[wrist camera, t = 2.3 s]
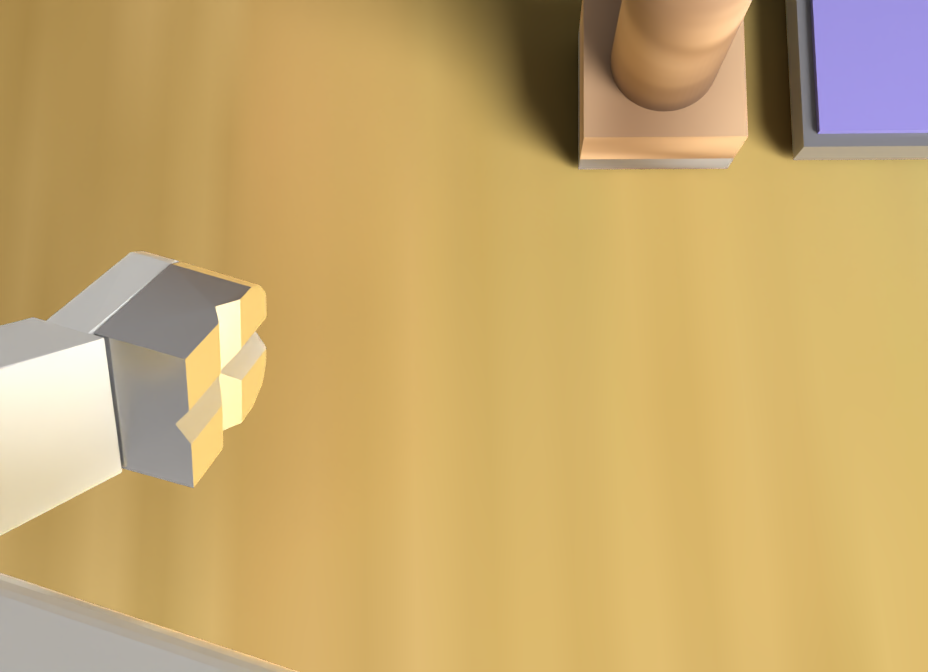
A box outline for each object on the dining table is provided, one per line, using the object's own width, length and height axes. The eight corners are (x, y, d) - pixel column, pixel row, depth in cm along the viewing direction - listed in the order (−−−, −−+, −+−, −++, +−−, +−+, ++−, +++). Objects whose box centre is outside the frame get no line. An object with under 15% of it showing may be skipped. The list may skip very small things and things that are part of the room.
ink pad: (964, -83, 26) (984, -109, 25) (986, 158, 25) (1008, 142, 24) (781, -78, 27) (793, -104, 25) (793, 160, 25) (806, 144, 24)
